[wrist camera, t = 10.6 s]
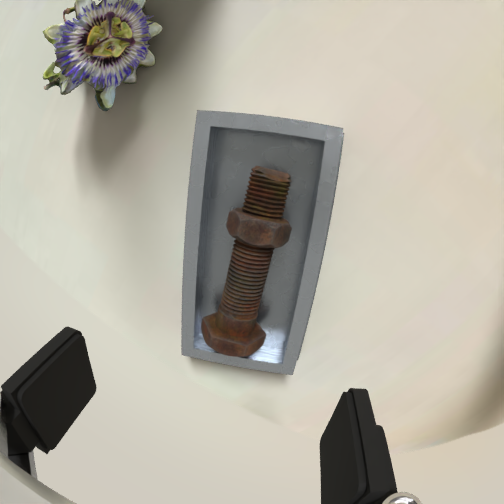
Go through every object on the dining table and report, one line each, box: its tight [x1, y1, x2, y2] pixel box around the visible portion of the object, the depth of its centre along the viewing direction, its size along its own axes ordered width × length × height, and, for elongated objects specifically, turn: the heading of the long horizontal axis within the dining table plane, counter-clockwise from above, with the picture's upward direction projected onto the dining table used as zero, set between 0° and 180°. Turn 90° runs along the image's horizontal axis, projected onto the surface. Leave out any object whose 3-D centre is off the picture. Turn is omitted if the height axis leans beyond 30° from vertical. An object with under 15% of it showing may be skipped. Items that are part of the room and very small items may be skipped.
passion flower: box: [43, 0, 162, 111], centre depth 18 cm, size 11×11×12 cm
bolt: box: [201, 166, 292, 357], centre depth 23 cm, size 6×5×15 cm
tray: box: [182, 110, 344, 375], centre depth 25 cm, size 12×22×3 cm, turn 172°
